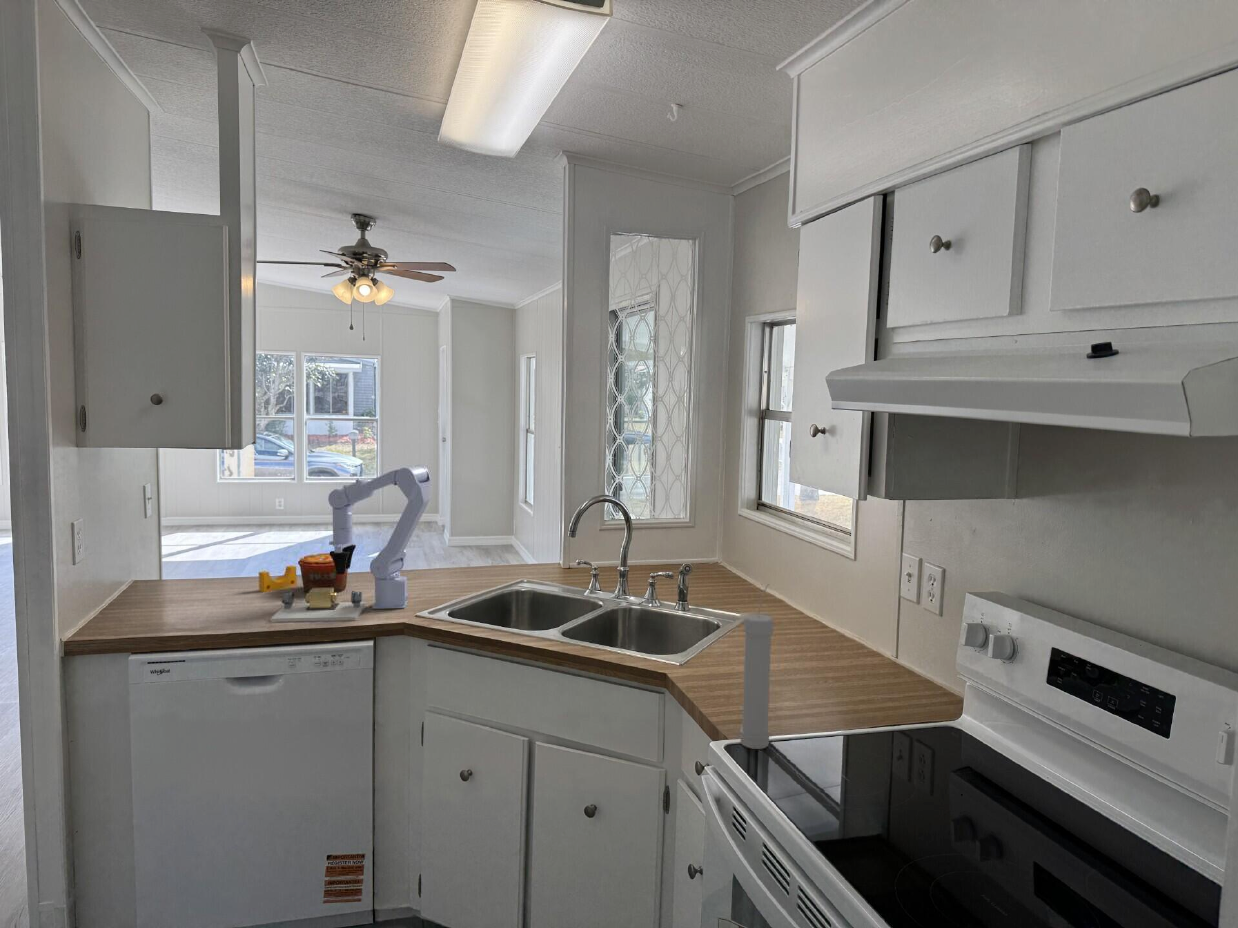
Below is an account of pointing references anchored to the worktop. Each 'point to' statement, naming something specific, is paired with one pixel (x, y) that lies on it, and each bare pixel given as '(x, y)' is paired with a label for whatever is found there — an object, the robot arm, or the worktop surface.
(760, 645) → the grey piece
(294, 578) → the pipe clamp
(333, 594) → the brass valve
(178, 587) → the worktop surface
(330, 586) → the food container
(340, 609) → the pipe board
